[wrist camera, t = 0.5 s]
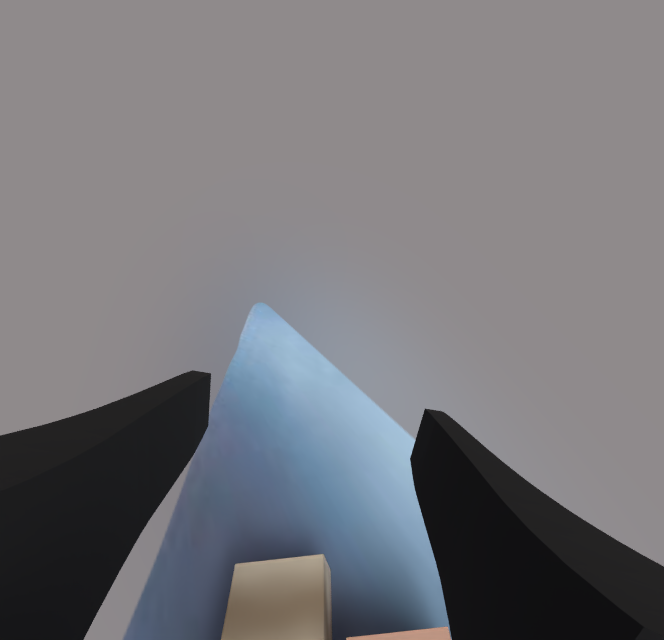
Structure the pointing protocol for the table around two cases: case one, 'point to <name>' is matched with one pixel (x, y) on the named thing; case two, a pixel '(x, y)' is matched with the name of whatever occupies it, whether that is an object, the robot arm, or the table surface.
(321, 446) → the table surface
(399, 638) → the terracotta cube
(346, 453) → the table surface
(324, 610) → the birch base block
